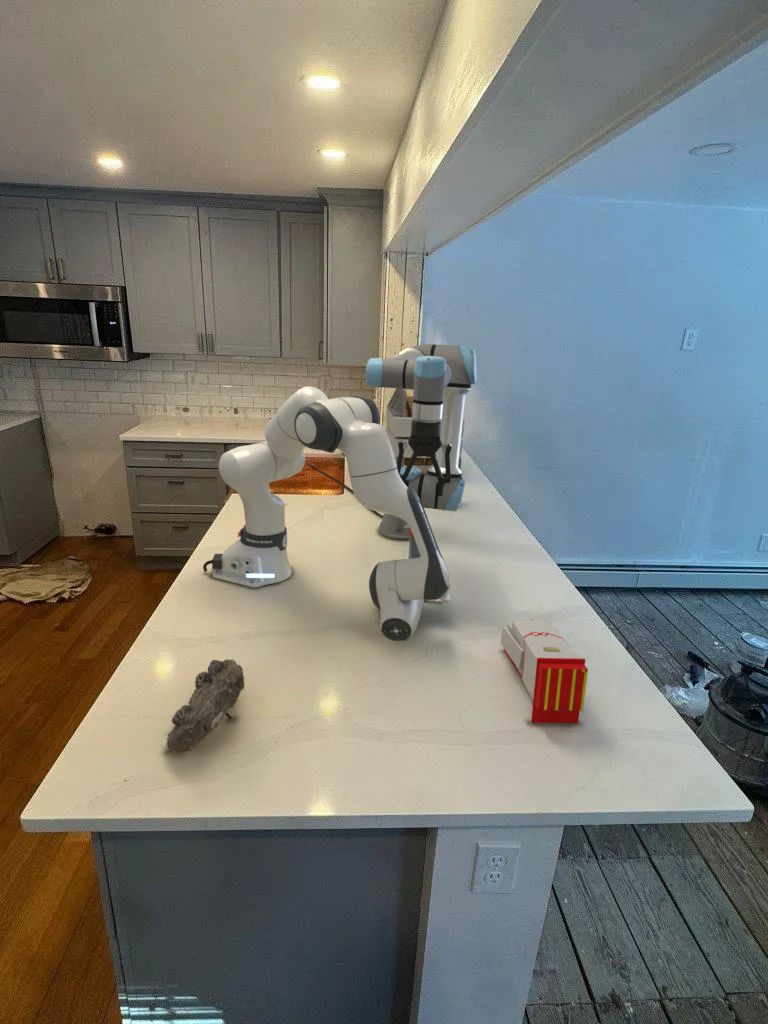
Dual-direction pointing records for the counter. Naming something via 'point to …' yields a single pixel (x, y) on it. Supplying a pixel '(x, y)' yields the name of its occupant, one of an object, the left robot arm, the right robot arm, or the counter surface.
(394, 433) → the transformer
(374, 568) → the left robot arm
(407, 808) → the counter surface
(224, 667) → the fossil
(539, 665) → the toy
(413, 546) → the grey cylinder
